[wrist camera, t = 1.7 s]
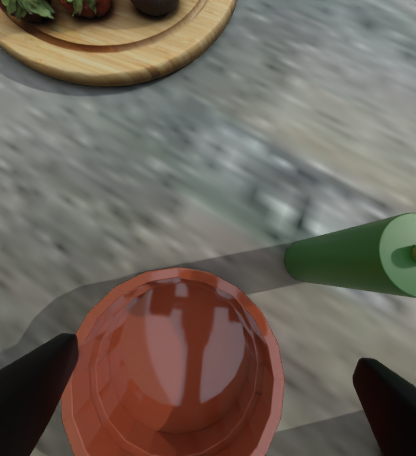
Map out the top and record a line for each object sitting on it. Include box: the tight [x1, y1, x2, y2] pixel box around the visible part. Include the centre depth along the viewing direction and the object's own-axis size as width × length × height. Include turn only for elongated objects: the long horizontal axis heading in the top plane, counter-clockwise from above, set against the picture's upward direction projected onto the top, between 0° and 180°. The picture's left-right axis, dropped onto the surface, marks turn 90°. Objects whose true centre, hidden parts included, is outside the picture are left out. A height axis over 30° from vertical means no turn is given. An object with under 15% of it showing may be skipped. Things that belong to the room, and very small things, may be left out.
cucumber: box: [285, 213, 416, 298], centre depth 17 cm, size 4×4×13 cm
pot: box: [61, 267, 285, 456], centre depth 19 cm, size 16×16×6 cm
